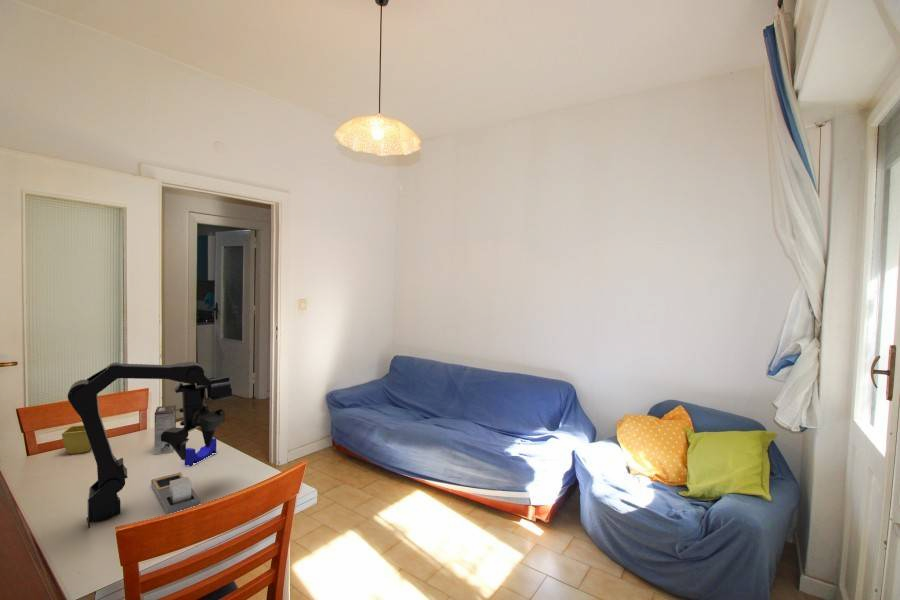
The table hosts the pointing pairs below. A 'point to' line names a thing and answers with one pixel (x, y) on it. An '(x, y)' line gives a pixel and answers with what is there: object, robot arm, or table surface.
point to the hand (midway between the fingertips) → (196, 453)
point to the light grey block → (180, 490)
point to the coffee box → (163, 427)
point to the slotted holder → (163, 494)
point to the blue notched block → (199, 453)
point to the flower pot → (76, 440)
